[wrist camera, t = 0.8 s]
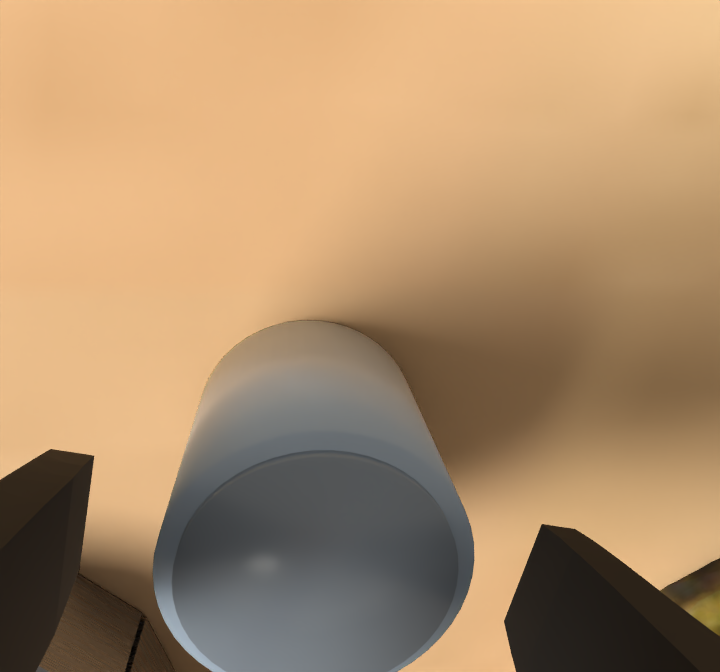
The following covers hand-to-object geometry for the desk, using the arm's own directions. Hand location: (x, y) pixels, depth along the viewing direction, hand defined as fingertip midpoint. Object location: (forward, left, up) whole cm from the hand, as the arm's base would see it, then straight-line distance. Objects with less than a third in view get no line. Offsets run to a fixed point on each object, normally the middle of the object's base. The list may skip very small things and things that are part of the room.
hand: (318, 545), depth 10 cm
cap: (0, 0, -5) cm, 5 cm away
